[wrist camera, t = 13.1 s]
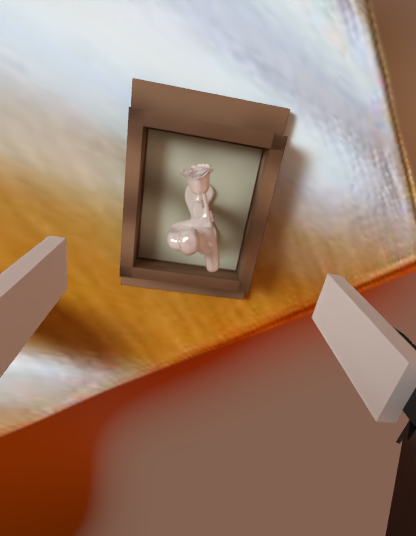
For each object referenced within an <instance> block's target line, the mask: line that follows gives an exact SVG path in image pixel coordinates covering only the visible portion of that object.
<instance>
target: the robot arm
mask: <svg viewBox="0 0 416 536" xmlns="http://www.w3.org/2000/svg"><path fill="white" fill-rule="evenodd" d="M66 290H67V260H66V238H62V237H55V236H48V237H47V238H46V239H44V240H43V241H42V242H40V243H39V244H38V245H37V246H35V247H34V248H33V249H31V250H30V251H29V252H28V253H26V254H25V255H24V256H23V257H21V258H20V259H19V260H17V261H16V262H15V263H14V264H12V265H11V266H10V267H9V268H7V269H6V270H5V271H3V272H2V273H1V274H0V377H1V376H2V375H3V373H4V372H5V371H6V369H7V368H8V367H9V365H10V364H11V363H12V361H13V360H14V359H15V357H16V356H17V355H18V353H19V352H20V351H21V349H22V348H23V347H24V345H25V344H26V343H27V341H28V340H29V339H30V338H31V336H32V335H33V334H34V332H35V331H36V330H37V328H38V327H39V326H40V324H41V323H42V322H43V320H44V319H45V318H46V316H47V315H48V314H49V312H50V311H51V310H52V308H53V307H54V306H55V304H56V303H57V302H58V300H59V299H60V298H61V296H62V295H63V294H64V292H65V291H66ZM312 319H313V321H314V322H315V324H316V325H317V327H318V329H319V330H320V332H321V333H322V335H323V337H324V338H325V340H326V342H327V343H328V344H329V346H330V348H331V350H332V351H333V353H334V354H335V356H336V358H337V359H338V361H339V362H340V364H341V366H342V367H343V369H344V371H345V372H346V374H347V375H348V377H349V379H350V380H351V382H352V383H353V385H354V387H355V388H356V390H357V392H358V393H359V395H360V396H361V398H362V400H363V401H364V403H365V404H366V406H367V407H368V409H369V411H370V412H371V414H372V416H373V417H374V419H375V420H376V422H387V423H396V422H397V420H398V418H399V417H400V415H401V413H402V412H403V411H404V413H405V414H406V415H407V417H408V418H409V419H410V420H409V422H408V423H407V425H406V427H405V428H404V430H403V432H402V433H401V435H400V436H399V438H398V440H397V441H396V442H397V443H400V442H401V441H402V447H401V453H400V459H399V464H398V469H397V475H396V480H395V486H394V491H393V497H392V503H391V508H390V514H389V519H388V525H387V530H386V536H416V346H415V345H414V344H412V342H411V341H410V340H409V339H408V338H407V337H406V336H405V335H404V334H402V333H401V332H400V331H398V330H397V329H395V328H394V327H392V326H391V325H390V324H389V323H388V322H387V321H386V320H385V319H384V318H383V317H382V316H381V315H380V314H379V313H378V312H377V311H376V310H375V309H374V308H373V307H372V306H371V305H370V304H369V303H368V302H367V301H366V300H365V299H364V298H363V297H362V296H361V295H360V294H359V293H358V292H357V291H356V290H355V289H354V288H353V287H352V286H351V285H350V283H349V282H348V281H347V280H346V279H345V278H344V277H343V276H342V275H335V274H327V277H326V280H325V282H324V285H323V288H322V291H321V293H320V296H319V299H318V302H317V304H316V307H315V310H314V313H313V315H312Z"/></svg>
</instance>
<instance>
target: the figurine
mask: <svg viewBox="0 0 416 536" xmlns="http://www.w3.org/2000/svg"><path fill="white" fill-rule="evenodd" d="M185 169H186V170H184V169H182V171H183V172H182V173H179V174H180V175H181V176H184V177H185V178H186V180H187V182H188V186H187V188H186V190H185V201H186V204H187V207H188V209H189V212H190V214H191V219H189V220H185V221H180V222H177V223H174V224H173V225H171V227H170V228H169V230H168V232H167V243H168V245H169V247H170V248H172V249H173V250H175V251H182V252H183V254H184V255H187V256H190V255H193V254H195V253H196V252H199V253H200V254H201V255H203V254H204V258H205V262H206V269H207V270H208V271H209V272H216V271H217V270H218V269H219V266H220V262H219V252H218V245H217V239H218V234H217V230H216V228H215V225H214V224H213V222H214V217H213V214H212V211H210V210H209V204H210V202H211V200H212V198H213V196H214V189H213V187H212V186H211V185H210V174H211V172H212V171H213V169H214V167H212V166H211V167H210V166H209V165H208V164H205V165H204V164H198V165H193V166H190V167H186V168H185Z"/></svg>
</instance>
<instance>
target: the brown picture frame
mask: <svg viewBox="0 0 416 536" xmlns="http://www.w3.org/2000/svg"><path fill="white" fill-rule="evenodd" d="M289 111H290V109H288V108H282V107H277V106H272V105H267V104H262V103H257V102H252V101H247V100H242V99H237V98H231V97H226V96H221V95H216V94H211V93H206V92H201V91H196V90H191V89H186V88H180V87H175V86H170V85H165V84H160V83H155V82H150V81H145V80H140V79H135V78H133V81H132V98H131V107H129V117H128V135H127V153H126V171H125V189H124V207H123V225H122V243H121V261H120V277H121V285H128V286H136V287H144V288H152V289H160V290H168V291H176V292H184V293H192V294H200V295H209V296H217V297H225V298H233V299H241V300H243V299H244V295H245V292H246V293H249V289H250V285H251V281H252V277H253V273H254V269H255V265H256V261H257V257H258V253H259V249H260V245H261V241H262V237H263V233H264V229H265V225H266V221H267V217H268V213H269V209H270V205H271V201H272V197H273V193H274V189H275V185H276V181H277V177H278V173H279V169H280V165H281V161H282V157H283V153H284V149H285V145H286V141H287V137H288V136H283V135H284V131H285V127H286V123H287V119H288V115H289ZM198 164H204V165H205V164H208V165H209V166H210V167H211V166H212V167H214V169H213V171H212V172H211V174H210V185H211V186H212V187H213V189H214V196H213V198H212V200H211V202H210V204H209V210H210V211H212V214H213V217H214V222H213V224H214V225H215V228H216V230H217V234H218V239H217V245H218V252H219V262H220V266H219V269H218V270H217V271H216V272H209V271H208V270H207V269H206V262H205V258H204V254H203V255H201V254H200V253H199V252H196V253H195V254H193V255H190V256H187V255H184V254H183V252H182V251H175V250H173V249H172V248H170V247H169V245H168V243H167V232H168V230H169V228H170V227H171V225H173V224H174V223H177V222H180V221H185V220H189V219H191V214H190V212H189V209H188V207H187V204H186V201H185V190H186V188H187V186H188V182H187V180H186V178H185V177H184V176H181V175H180V174H179V173H182V172H183V171H182V169H184V170H186V169H185V168H186V167H190V166H193V165H198Z"/></svg>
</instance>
